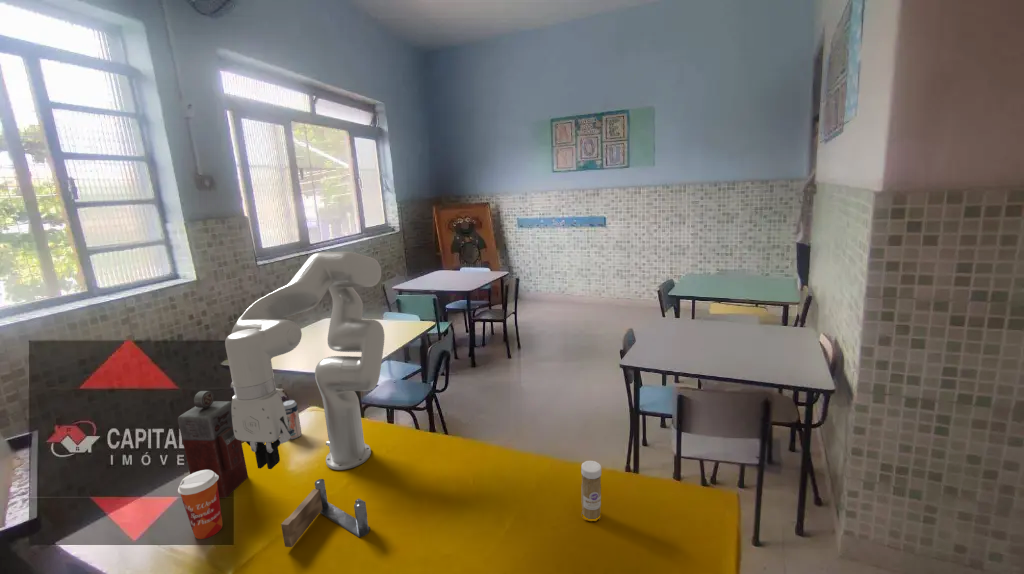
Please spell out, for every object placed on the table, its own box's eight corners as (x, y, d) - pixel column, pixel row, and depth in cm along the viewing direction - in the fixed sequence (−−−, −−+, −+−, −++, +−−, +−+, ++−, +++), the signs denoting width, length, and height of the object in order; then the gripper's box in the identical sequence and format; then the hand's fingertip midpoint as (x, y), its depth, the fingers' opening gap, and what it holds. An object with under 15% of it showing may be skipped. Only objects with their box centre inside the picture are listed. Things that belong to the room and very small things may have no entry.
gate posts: (315, 510, 111) (311, 483, 110) (328, 501, 114) (324, 475, 113) (361, 538, 102) (357, 510, 100) (373, 529, 104) (370, 501, 103)
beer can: (282, 440, 144) (276, 406, 141) (291, 432, 148) (286, 398, 146) (295, 441, 143) (290, 406, 140) (304, 432, 148) (299, 399, 145)
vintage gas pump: (234, 498, 117) (213, 400, 111) (194, 496, 118) (172, 399, 112) (256, 476, 126) (238, 384, 120) (219, 475, 127) (199, 384, 121)
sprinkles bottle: (588, 525, 103) (588, 474, 100) (577, 513, 107) (577, 463, 104) (605, 519, 105) (605, 468, 102) (593, 506, 109) (593, 457, 106)
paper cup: (186, 547, 101) (173, 493, 98) (191, 526, 108) (179, 474, 105) (226, 534, 105) (215, 482, 102) (229, 514, 111) (219, 464, 108)
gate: (316, 508, 111) (313, 488, 109) (322, 509, 110) (319, 488, 109) (285, 546, 99) (281, 524, 98) (292, 547, 99) (288, 524, 97)
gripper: (208, 394, 92) (224, 473, 96) (276, 397, 90) (290, 478, 94) (235, 379, 99) (249, 453, 103) (299, 381, 97) (311, 457, 101)
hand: (269, 464), depth 99 cm, fingers closed
